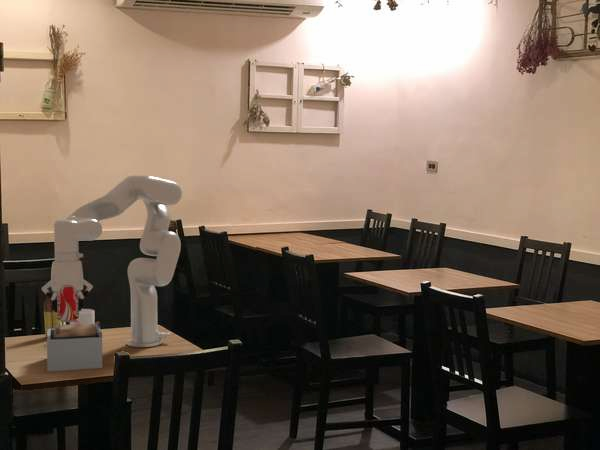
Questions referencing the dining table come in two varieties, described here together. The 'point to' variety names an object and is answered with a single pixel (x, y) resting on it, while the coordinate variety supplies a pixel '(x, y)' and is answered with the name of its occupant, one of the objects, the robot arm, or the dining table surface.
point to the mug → (84, 317)
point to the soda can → (67, 304)
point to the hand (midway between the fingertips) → (67, 310)
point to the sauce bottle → (50, 314)
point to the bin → (74, 351)
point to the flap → (74, 330)
